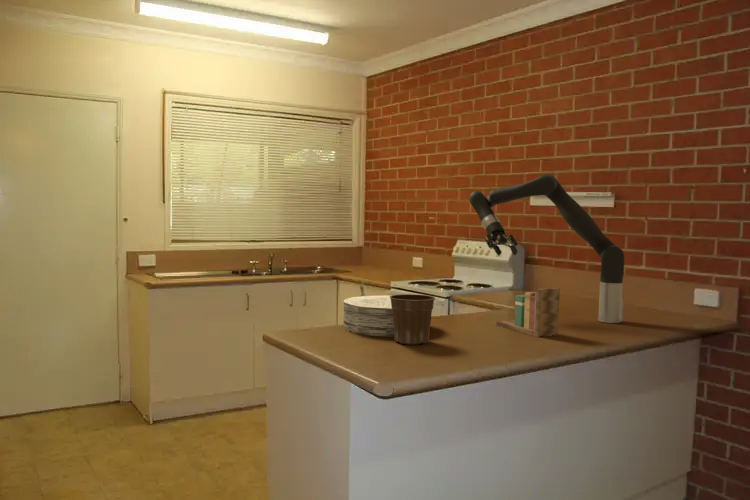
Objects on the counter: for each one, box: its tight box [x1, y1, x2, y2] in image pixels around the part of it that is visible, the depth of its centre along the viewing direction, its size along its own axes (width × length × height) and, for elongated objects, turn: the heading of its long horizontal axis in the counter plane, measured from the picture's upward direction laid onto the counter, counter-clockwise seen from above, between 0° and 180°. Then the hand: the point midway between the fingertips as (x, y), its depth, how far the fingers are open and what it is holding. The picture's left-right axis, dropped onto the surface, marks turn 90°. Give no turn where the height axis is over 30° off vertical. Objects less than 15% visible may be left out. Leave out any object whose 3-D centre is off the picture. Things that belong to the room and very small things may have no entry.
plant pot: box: [389, 293, 436, 346], centre depth 221 cm, size 16×16×16 cm
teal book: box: [514, 294, 525, 327], centre depth 249 cm, size 5×4×12 cm
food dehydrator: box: [343, 280, 394, 338], centre depth 248 cm, size 38×34×18 cm
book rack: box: [496, 287, 561, 338], centre depth 247 cm, size 10×26×18 cm, turn 26°
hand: (507, 253), depth 270 cm, fingers open, 8 cm apart
